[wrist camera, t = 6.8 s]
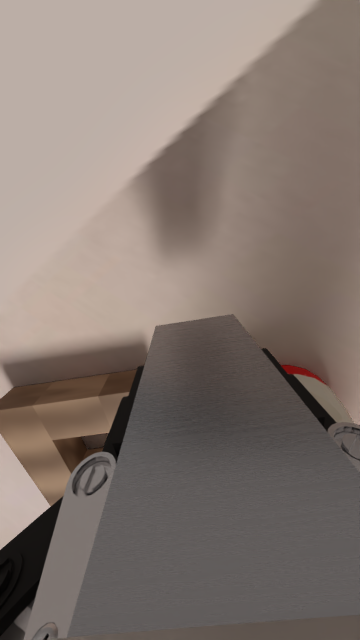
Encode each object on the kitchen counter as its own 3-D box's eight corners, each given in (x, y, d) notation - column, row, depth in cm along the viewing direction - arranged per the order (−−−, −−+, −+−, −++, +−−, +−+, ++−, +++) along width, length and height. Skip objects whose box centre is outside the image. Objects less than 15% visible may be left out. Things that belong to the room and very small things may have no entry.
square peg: (237, 378, 13) (399, 741, 3) (169, 388, 13) (146, 752, 4) (232, 314, 11) (507, 656, 2) (155, 326, 11) (53, 683, 2)
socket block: (176, 462, 27) (176, 492, 24) (65, 476, 28) (51, 507, 25) (151, 367, 22) (147, 389, 18) (13, 387, 22) (-15, 412, 19)
